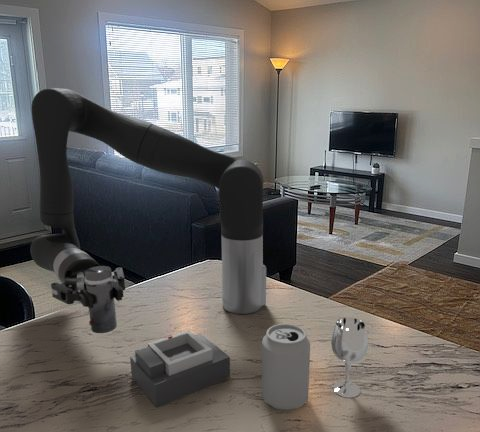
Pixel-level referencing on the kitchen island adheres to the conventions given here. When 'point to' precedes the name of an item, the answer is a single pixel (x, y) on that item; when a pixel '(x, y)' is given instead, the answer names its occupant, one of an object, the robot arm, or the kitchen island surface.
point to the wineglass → (349, 350)
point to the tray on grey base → (178, 366)
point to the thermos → (101, 299)
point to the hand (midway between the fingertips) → (105, 299)
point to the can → (285, 366)
